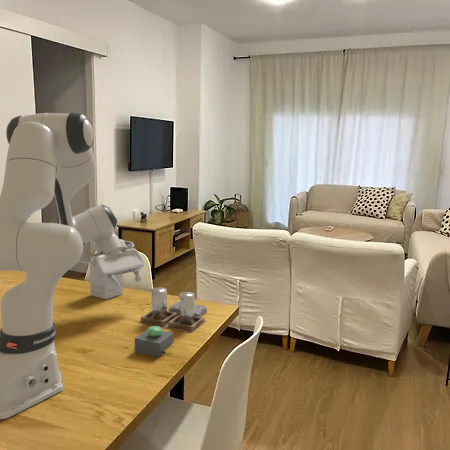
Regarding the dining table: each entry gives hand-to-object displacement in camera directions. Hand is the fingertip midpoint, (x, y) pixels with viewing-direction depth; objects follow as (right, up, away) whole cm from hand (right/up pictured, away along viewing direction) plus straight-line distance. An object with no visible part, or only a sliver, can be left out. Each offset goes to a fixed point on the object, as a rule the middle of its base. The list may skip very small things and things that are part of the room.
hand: (129, 283), depth 153 cm
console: (+12, -15, -24) cm, 31 cm away
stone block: (+20, -11, +3) cm, 23 cm away
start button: (+12, -14, -25) cm, 31 cm away
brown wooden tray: (+15, -12, -6) cm, 21 cm away
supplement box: (-13, -7, +21) cm, 26 cm away
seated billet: (+20, -12, -8) cm, 25 cm away
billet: (+11, -11, -5) cm, 16 cm away
